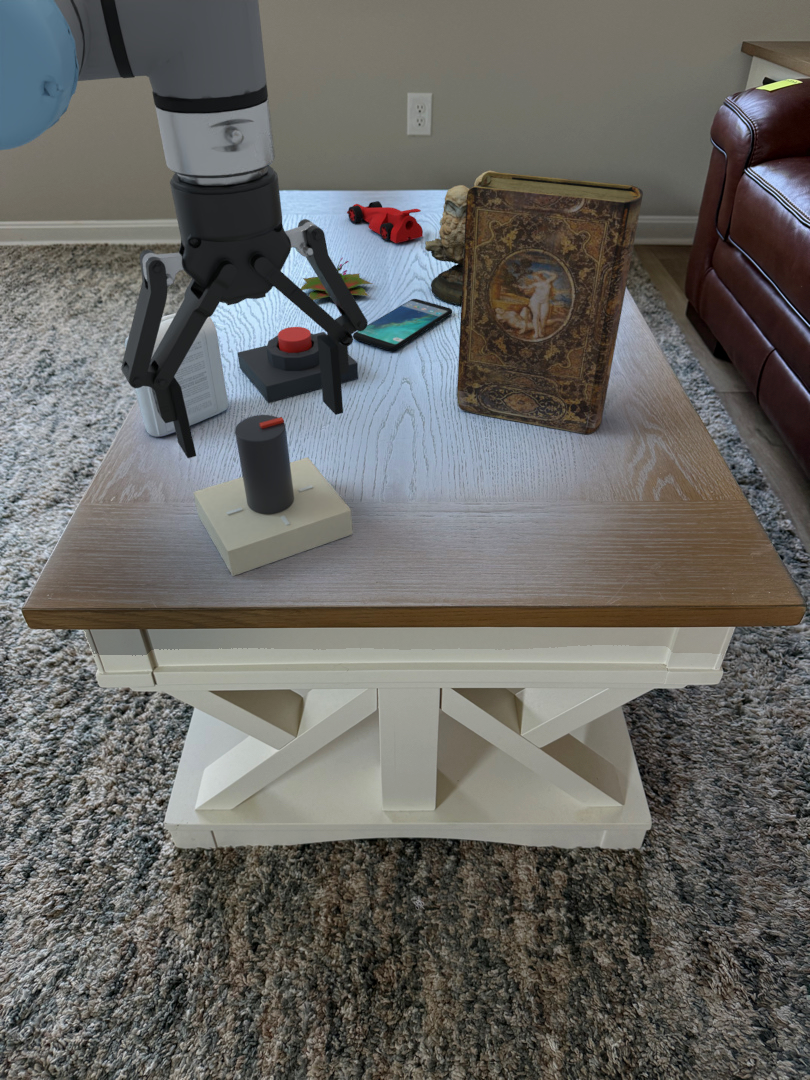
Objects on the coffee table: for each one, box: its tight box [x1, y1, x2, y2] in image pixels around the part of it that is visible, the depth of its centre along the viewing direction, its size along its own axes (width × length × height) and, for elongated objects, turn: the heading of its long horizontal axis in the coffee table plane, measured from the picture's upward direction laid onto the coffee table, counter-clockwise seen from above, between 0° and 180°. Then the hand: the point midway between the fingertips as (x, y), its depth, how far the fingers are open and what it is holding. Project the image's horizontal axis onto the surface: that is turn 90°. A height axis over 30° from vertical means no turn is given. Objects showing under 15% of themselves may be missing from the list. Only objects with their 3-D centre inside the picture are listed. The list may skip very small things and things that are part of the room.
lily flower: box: [300, 257, 374, 301], centre depth 117 cm, size 12×12×5 cm
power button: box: [277, 326, 312, 353], centre depth 96 cm, size 4×4×2 cm
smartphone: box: [352, 298, 453, 352], centre depth 109 cm, size 7×1×15 cm
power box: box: [236, 331, 359, 403], centre depth 98 cm, size 12×10×4 cm
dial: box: [234, 414, 294, 514], centre depth 71 cm, size 4×4×8 cm
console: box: [192, 456, 353, 577], centre depth 75 cm, size 12×10×3 cm
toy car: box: [346, 200, 424, 244], centre depth 138 cm, size 6×18×5 cm, turn 33°
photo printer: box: [124, 312, 229, 438], centre depth 87 cm, size 10×4×12 cm, turn 134°
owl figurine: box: [424, 169, 496, 306], centre depth 112 cm, size 18×12×17 cm, turn 82°
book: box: [456, 171, 644, 435], centre depth 84 cm, size 16×6×25 cm, turn 70°
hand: (262, 428), depth 69 cm, fingers open, 13 cm apart
